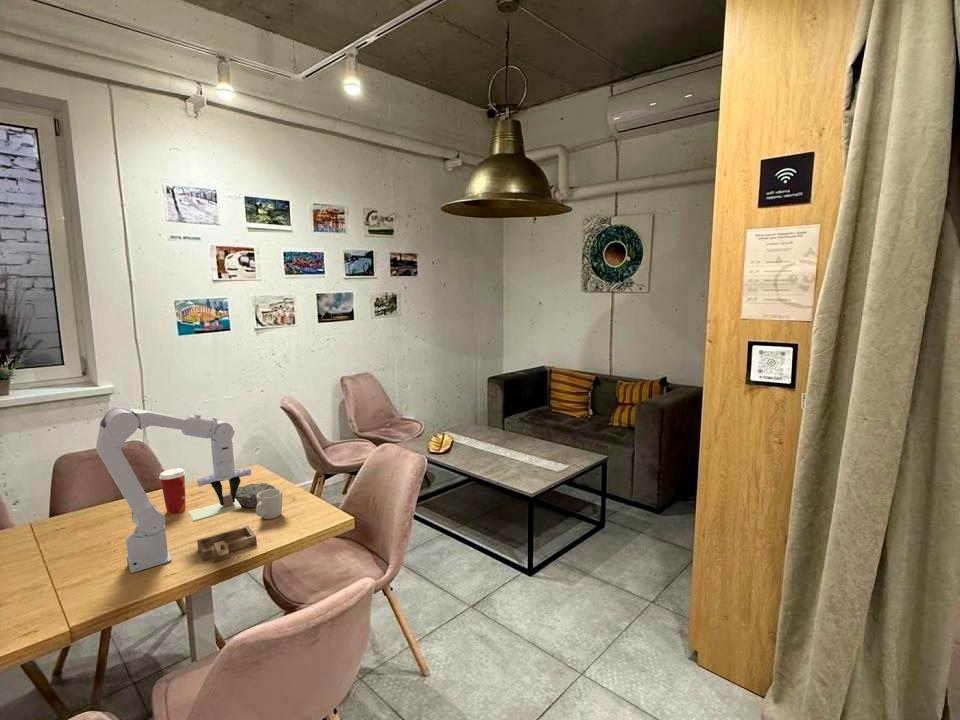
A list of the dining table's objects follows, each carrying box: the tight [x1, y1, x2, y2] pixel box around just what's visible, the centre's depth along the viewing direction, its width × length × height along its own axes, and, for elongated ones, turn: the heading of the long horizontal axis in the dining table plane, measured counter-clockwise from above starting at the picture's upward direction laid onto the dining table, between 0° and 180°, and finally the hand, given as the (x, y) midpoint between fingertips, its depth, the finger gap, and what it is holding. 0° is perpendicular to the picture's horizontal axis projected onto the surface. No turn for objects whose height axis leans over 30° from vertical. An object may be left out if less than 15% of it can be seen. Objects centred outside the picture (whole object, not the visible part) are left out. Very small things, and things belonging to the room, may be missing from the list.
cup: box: [255, 488, 283, 520], centre depth 165 cm, size 11×8×8 cm
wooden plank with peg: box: [214, 541, 230, 556], centre depth 138 cm, size 2×6×2 cm, turn 39°
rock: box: [235, 482, 277, 509], centre depth 178 cm, size 13×6×15 cm
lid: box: [188, 491, 242, 523], centre depth 150 cm, size 13×8×4 cm, turn 128°
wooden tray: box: [196, 525, 257, 564], centre depth 145 cm, size 14×12×3 cm
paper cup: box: [158, 467, 187, 515], centre depth 172 cm, size 8×8×14 cm
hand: (227, 502), depth 153 cm, fingers closed on lid, 2 cm apart
